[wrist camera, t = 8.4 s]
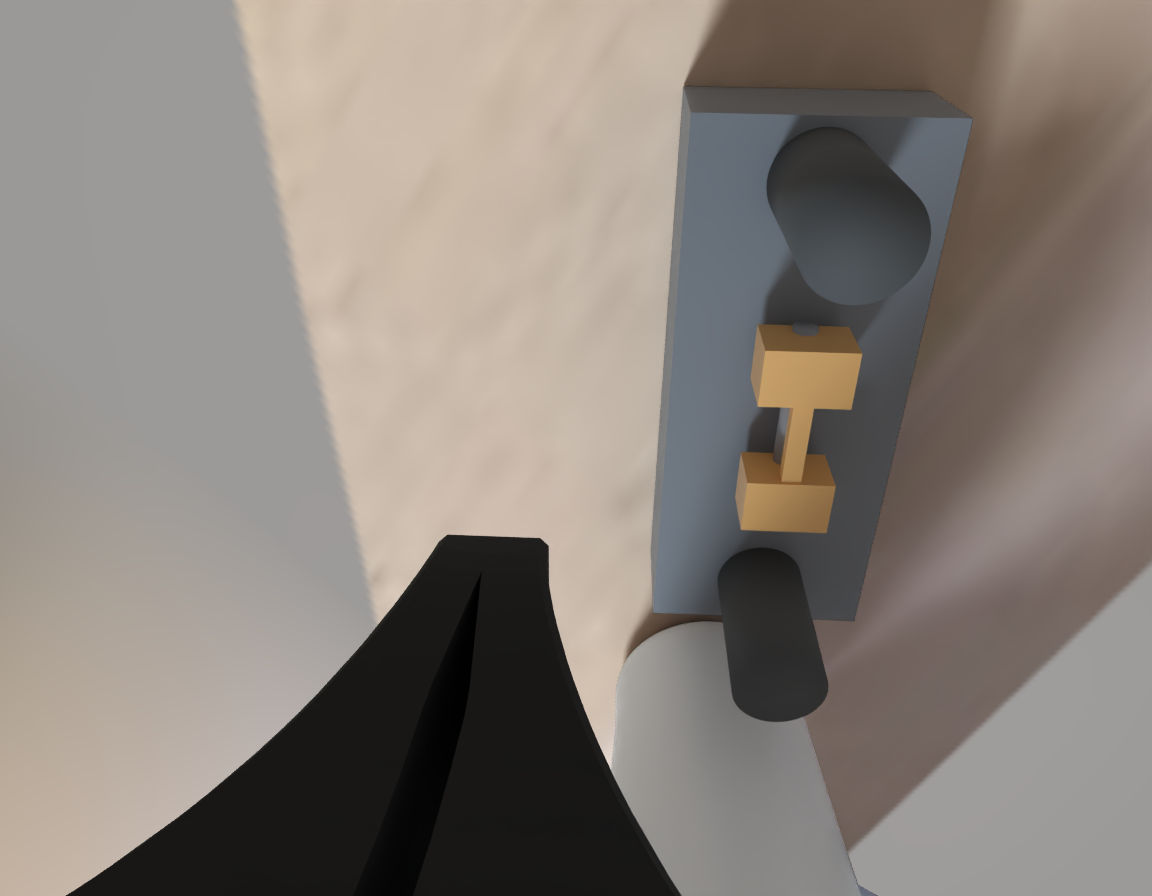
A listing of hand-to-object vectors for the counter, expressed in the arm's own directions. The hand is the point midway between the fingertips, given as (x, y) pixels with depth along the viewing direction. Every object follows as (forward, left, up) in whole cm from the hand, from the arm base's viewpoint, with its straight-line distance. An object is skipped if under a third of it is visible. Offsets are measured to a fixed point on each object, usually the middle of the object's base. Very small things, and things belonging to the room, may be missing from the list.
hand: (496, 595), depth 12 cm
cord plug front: (+6, -2, -8) cm, 10 cm away
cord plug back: (-2, -8, -8) cm, 11 cm away
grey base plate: (+2, -5, -10) cm, 12 cm away
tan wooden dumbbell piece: (+2, -5, -8) cm, 9 cm away
